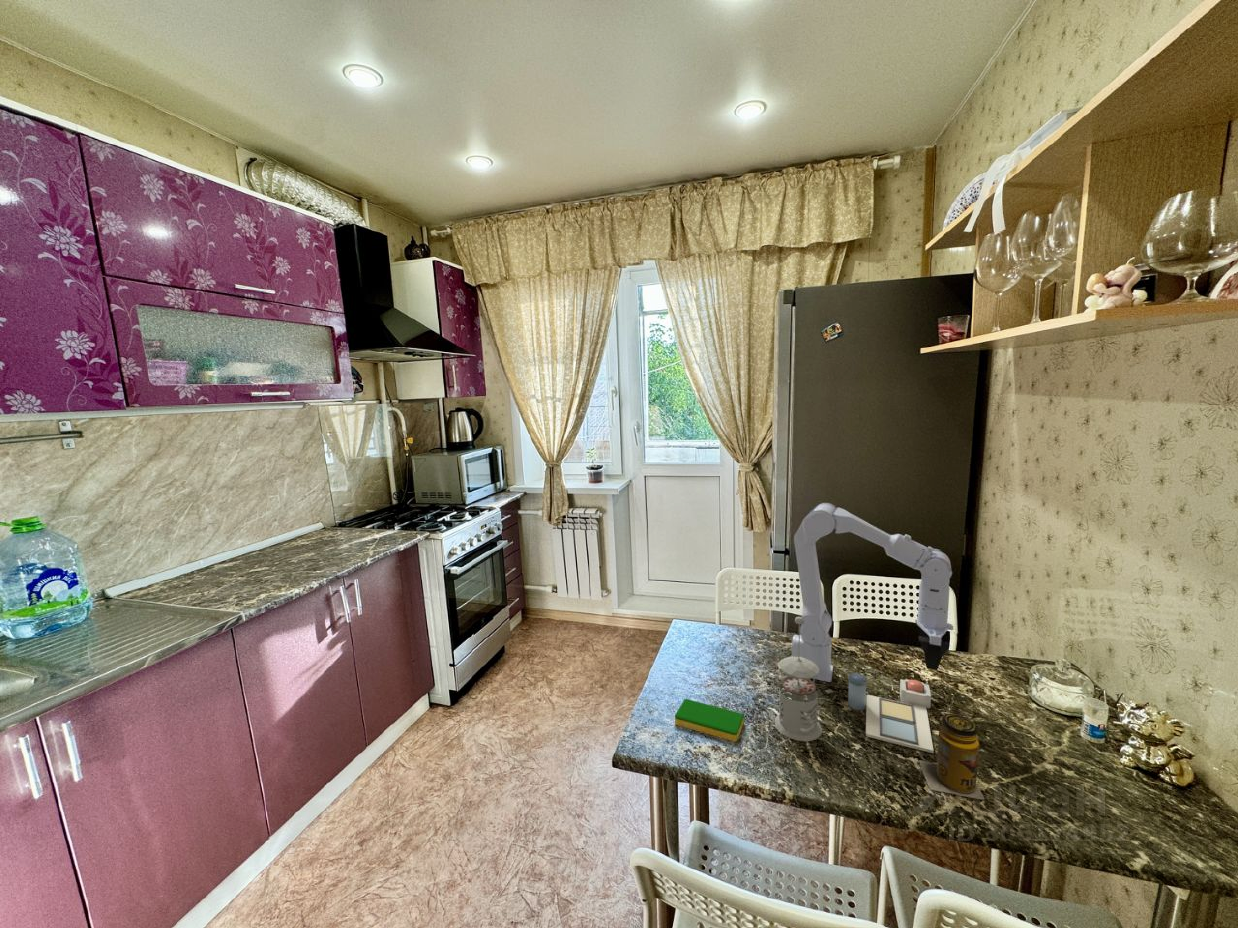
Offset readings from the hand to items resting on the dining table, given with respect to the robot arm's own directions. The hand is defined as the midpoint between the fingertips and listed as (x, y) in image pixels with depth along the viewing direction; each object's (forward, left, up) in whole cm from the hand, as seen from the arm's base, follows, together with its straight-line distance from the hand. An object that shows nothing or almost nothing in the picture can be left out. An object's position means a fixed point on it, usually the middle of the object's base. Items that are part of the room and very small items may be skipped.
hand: (929, 660), depth 112 cm
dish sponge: (-44, -29, -11) cm, 54 cm away
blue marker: (-15, -9, -10) cm, 20 cm away
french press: (-26, -21, -10) cm, 35 cm away
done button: (-3, -1, -10) cm, 10 cm away
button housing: (-3, -1, -10) cm, 10 cm away
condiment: (+1, -26, -10) cm, 28 cm away
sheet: (-7, -12, -10) cm, 17 cm away
